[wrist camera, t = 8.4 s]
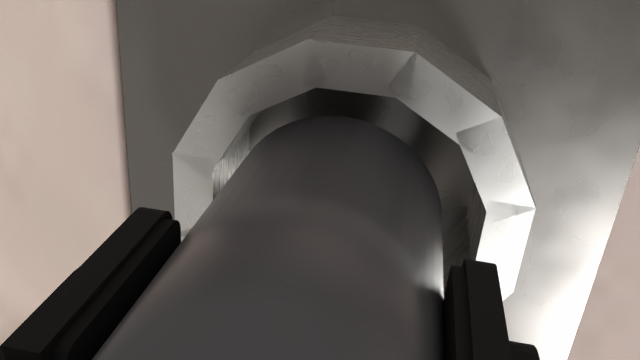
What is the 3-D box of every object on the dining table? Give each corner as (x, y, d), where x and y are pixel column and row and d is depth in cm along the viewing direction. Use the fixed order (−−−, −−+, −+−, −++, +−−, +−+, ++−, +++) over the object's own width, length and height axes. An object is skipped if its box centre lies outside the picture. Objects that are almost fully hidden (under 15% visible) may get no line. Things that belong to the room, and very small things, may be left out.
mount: (674, -34, 14) (764, -10, 10) (552, 346, 20) (580, 460, 16) (137, -84, 16) (37, -80, 12) (156, 275, 21) (91, 359, 17)
